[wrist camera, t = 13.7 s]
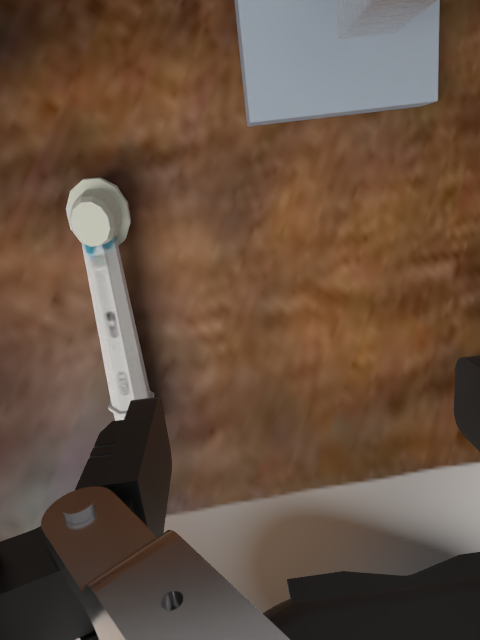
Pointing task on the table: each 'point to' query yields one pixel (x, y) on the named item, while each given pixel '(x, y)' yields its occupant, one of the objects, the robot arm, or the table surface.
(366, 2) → the column
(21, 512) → the table surface
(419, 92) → the stand base
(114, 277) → the toothbrush head
